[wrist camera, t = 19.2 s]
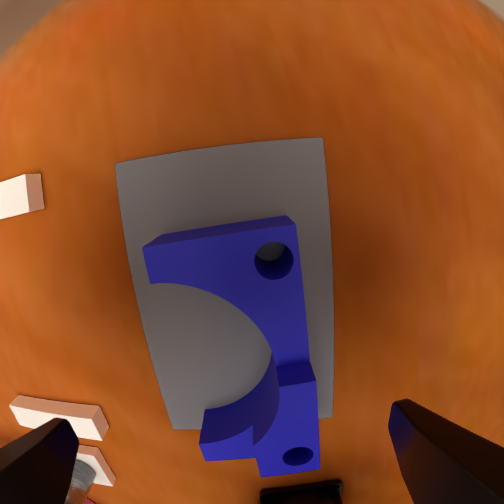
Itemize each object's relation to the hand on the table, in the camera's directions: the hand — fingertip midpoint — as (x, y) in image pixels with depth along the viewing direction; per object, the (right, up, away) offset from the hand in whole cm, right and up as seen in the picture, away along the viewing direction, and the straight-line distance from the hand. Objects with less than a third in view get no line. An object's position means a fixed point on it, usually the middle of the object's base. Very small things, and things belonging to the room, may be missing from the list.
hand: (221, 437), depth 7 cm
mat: (0, +2, +9) cm, 9 cm away
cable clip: (+4, 0, +7) cm, 8 cm away
